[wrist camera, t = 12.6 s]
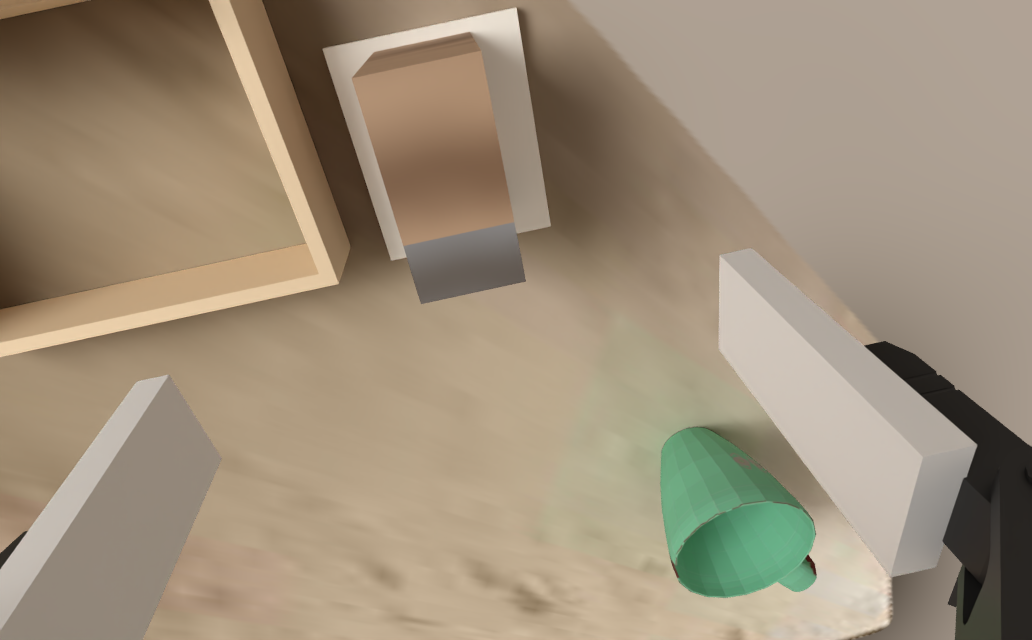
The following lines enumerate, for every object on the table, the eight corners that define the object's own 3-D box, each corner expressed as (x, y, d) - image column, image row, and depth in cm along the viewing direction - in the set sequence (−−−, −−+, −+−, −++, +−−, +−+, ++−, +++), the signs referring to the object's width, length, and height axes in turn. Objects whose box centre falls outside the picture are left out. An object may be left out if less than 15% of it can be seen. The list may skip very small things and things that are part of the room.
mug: (606, 461, 47) (644, 568, 39) (697, 382, 44) (759, 479, 35) (716, 527, 53) (770, 633, 45) (803, 462, 50) (878, 562, 41)
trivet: (324, 47, 30) (322, 48, 29) (515, 7, 30) (516, 7, 29) (391, 256, 36) (391, 260, 35) (549, 222, 36) (550, 226, 35)
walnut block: (373, 52, 29) (351, 78, 22) (469, 31, 30) (481, 50, 22) (424, 231, 35) (421, 304, 27) (506, 214, 35) (525, 281, 27)
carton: (-255, 51, 27) (-510, 79, 20) (242, -53, 27) (171, -65, 20) (-31, 328, 35) (-153, 420, 28) (350, 246, 35) (328, 316, 28)
